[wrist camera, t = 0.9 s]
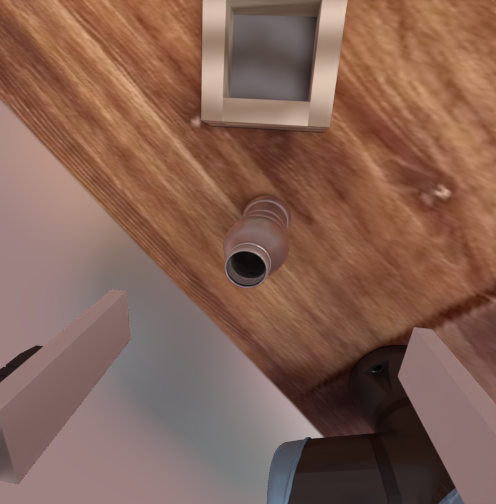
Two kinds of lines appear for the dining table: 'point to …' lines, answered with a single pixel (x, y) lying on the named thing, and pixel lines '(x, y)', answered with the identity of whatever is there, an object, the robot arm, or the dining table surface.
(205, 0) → the bottle holder
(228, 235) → the plastic bottle
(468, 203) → the dining table surface
